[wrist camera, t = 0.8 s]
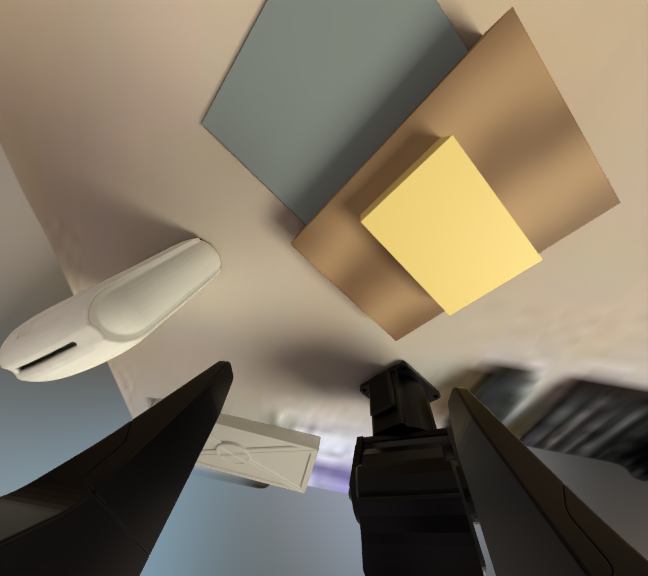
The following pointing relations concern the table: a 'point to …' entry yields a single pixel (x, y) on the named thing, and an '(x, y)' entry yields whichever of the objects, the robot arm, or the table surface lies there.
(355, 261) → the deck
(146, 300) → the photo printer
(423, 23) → the mat
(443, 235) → the pale yellow foam brick
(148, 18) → the table surface
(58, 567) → the robot arm
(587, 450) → the table surface
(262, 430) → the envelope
